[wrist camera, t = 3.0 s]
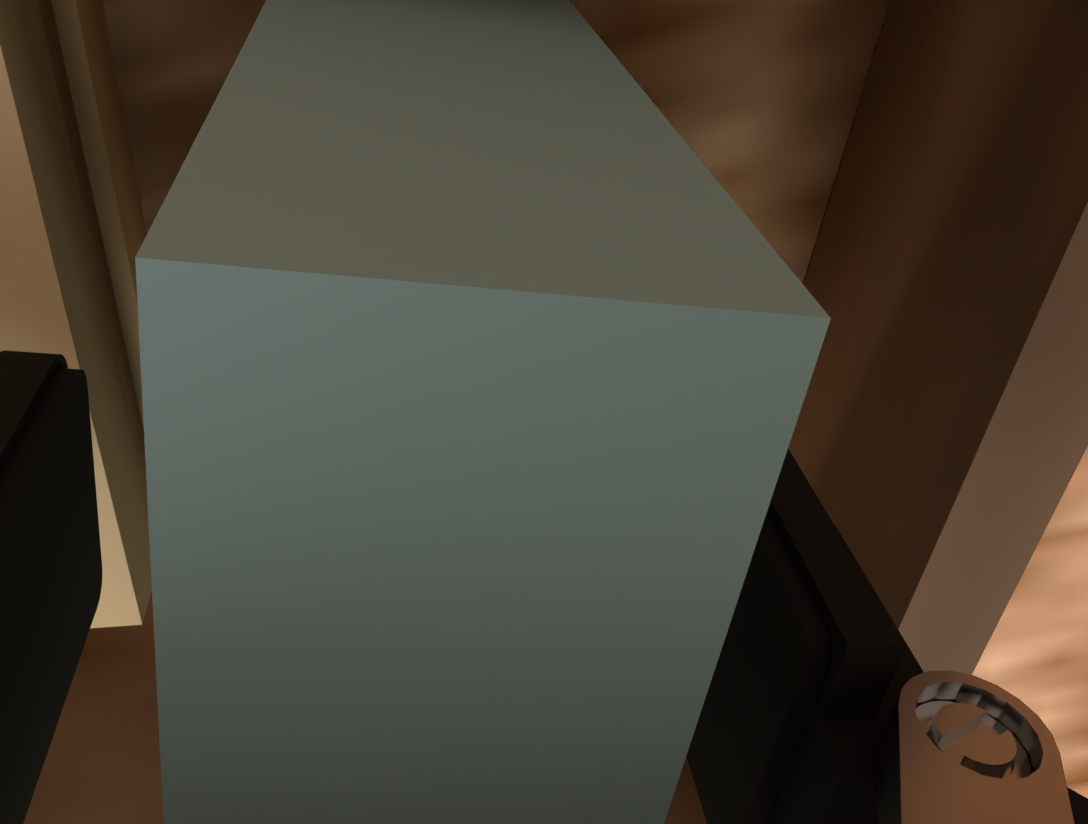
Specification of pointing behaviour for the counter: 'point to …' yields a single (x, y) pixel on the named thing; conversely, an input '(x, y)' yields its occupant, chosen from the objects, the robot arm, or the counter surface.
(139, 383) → the offcut stack
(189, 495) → the pale teal block
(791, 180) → the counter surface
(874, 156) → the frame
